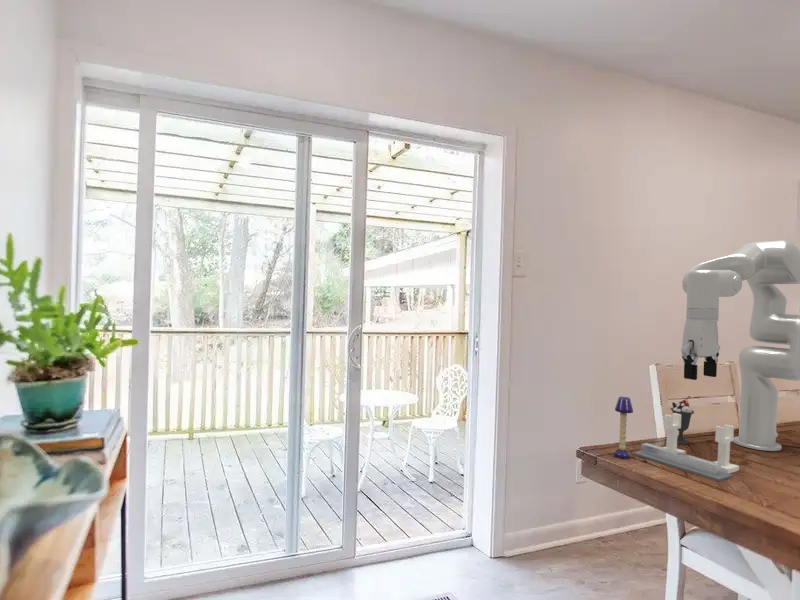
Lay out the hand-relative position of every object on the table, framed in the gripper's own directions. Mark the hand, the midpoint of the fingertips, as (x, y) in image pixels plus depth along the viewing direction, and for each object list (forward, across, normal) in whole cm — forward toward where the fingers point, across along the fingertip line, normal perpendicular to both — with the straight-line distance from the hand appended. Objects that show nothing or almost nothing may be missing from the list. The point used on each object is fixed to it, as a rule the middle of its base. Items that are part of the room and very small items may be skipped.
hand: (700, 377), depth 136 cm
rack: (+24, -2, -2) cm, 24 cm away
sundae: (+25, -18, -15) cm, 34 cm away
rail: (+22, +6, -2) cm, 23 cm away
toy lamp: (+24, +14, -13) cm, 30 cm away
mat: (+24, +6, -2) cm, 24 cm away
